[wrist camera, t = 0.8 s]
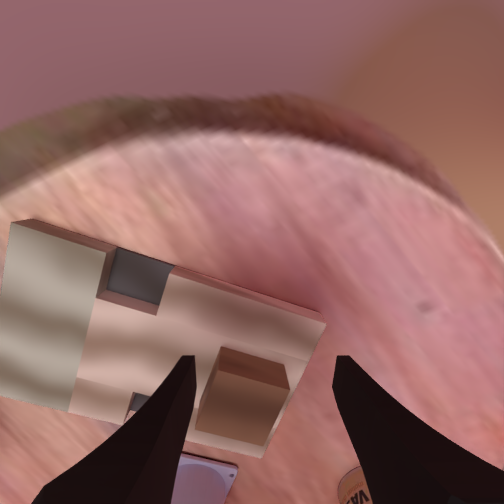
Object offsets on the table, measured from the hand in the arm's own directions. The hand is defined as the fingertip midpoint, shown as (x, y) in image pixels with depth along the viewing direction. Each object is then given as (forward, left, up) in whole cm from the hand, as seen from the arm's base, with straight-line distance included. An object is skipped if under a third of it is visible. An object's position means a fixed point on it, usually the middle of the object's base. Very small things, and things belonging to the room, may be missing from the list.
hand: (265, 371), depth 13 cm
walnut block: (-8, -2, -9) cm, 12 cm away
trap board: (-8, +6, -11) cm, 15 cm away
